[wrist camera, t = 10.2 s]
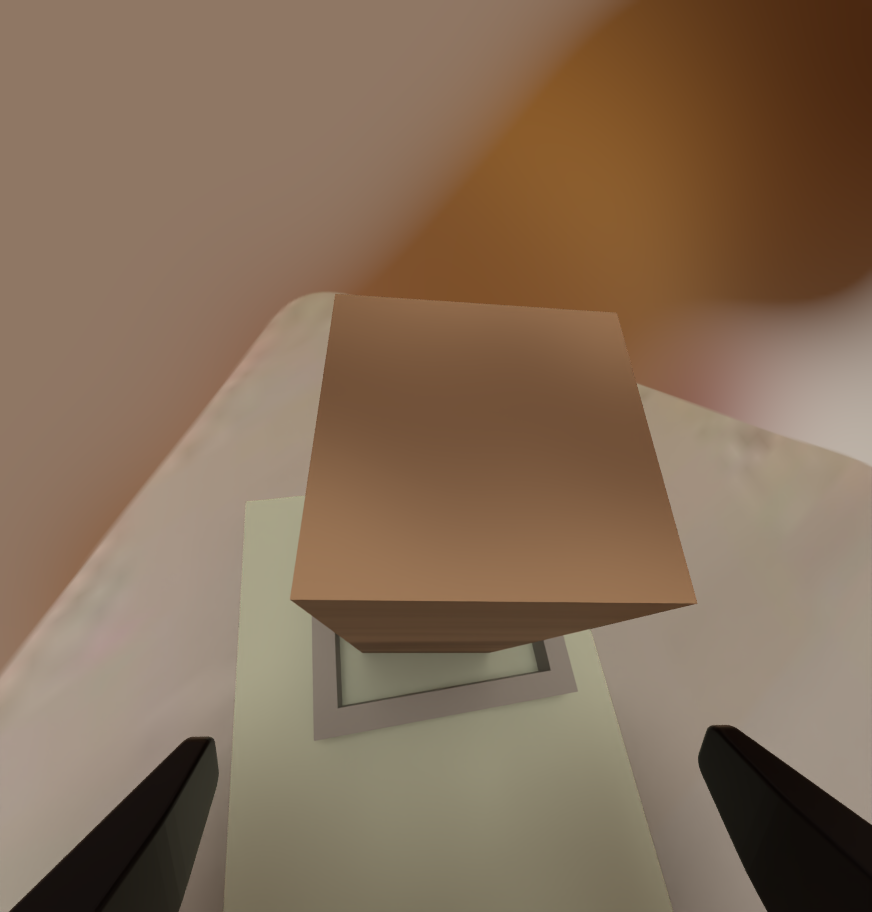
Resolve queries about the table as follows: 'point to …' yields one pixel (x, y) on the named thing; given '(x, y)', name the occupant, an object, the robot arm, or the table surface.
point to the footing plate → (421, 768)
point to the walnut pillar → (481, 480)
